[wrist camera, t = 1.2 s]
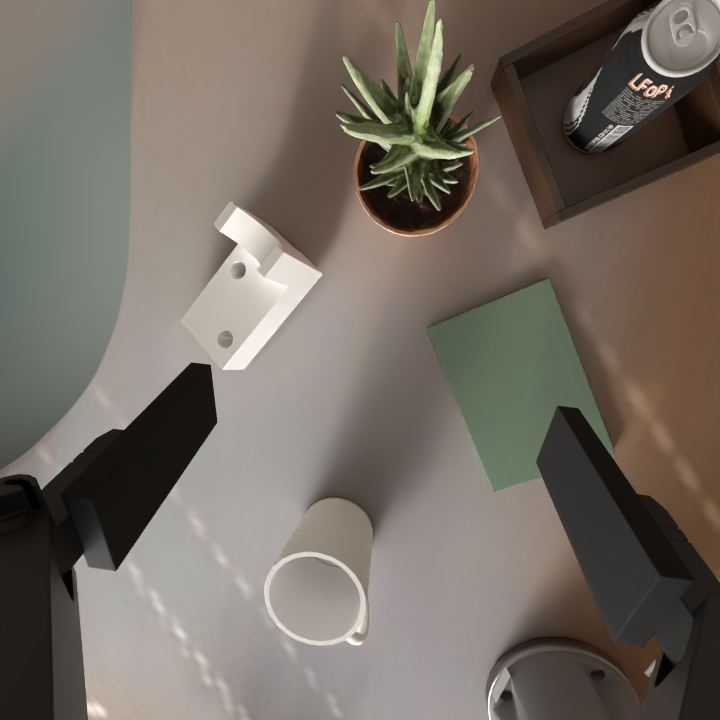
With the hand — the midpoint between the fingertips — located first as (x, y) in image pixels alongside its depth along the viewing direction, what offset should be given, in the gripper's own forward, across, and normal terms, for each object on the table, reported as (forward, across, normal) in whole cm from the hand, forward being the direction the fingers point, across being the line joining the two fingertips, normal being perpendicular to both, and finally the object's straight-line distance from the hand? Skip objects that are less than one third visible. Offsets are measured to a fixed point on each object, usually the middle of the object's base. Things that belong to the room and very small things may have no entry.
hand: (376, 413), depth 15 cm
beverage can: (+29, -16, -12) cm, 36 cm away
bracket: (+26, +14, +5) cm, 30 cm away
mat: (+22, -14, +11) cm, 28 cm away
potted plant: (+28, -2, -6) cm, 29 cm away
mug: (+17, +2, +29) cm, 34 cm away
